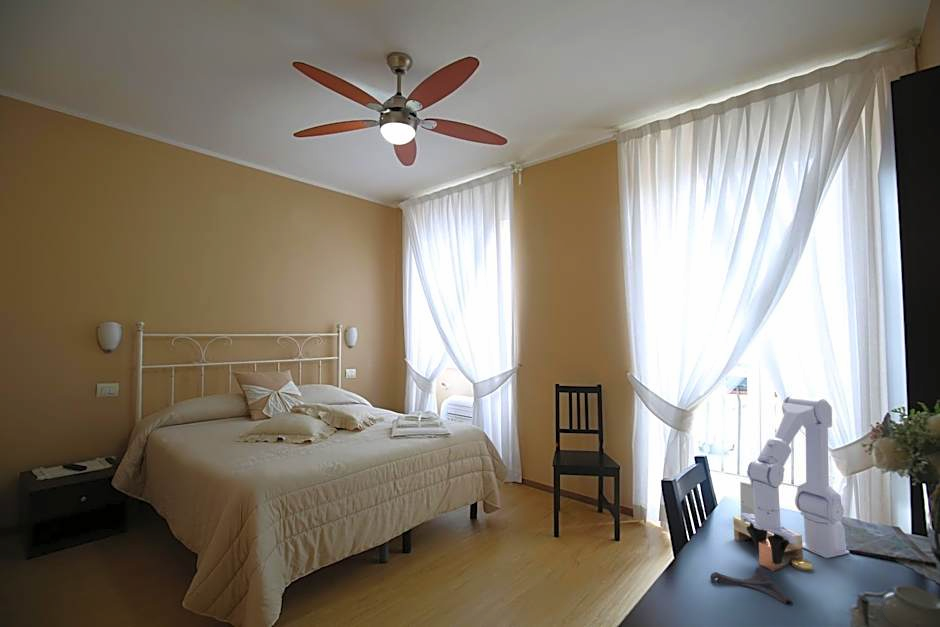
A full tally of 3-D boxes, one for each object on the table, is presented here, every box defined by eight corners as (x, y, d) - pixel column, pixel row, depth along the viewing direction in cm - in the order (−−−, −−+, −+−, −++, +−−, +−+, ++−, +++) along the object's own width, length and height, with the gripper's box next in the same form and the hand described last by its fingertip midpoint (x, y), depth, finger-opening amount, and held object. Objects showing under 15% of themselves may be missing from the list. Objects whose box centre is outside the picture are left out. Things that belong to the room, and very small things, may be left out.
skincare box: (740, 517, 145) (738, 481, 146) (746, 514, 148) (744, 478, 148) (760, 523, 140) (759, 486, 141) (766, 520, 143) (764, 483, 143)
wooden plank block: (753, 535, 132) (752, 513, 132) (803, 559, 118) (801, 535, 118) (734, 538, 130) (733, 517, 130) (783, 563, 116) (781, 539, 116)
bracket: (701, 568, 115) (701, 558, 115) (762, 573, 112) (761, 562, 112) (722, 601, 101) (722, 589, 101) (793, 608, 98) (792, 595, 98)
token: (791, 561, 117) (791, 555, 117) (812, 566, 114) (811, 560, 114) (791, 568, 113) (791, 562, 114) (813, 573, 111) (812, 567, 111)
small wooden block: (784, 554, 120) (784, 532, 120) (798, 560, 117) (797, 538, 117) (759, 564, 115) (758, 541, 115) (773, 570, 112) (772, 547, 112)
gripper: (731, 499, 121) (734, 548, 120) (782, 519, 107) (785, 575, 106) (750, 496, 123) (753, 544, 122) (802, 516, 109) (805, 570, 108)
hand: (769, 558), depth 114 cm, fingers closed on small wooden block, 4 cm apart
